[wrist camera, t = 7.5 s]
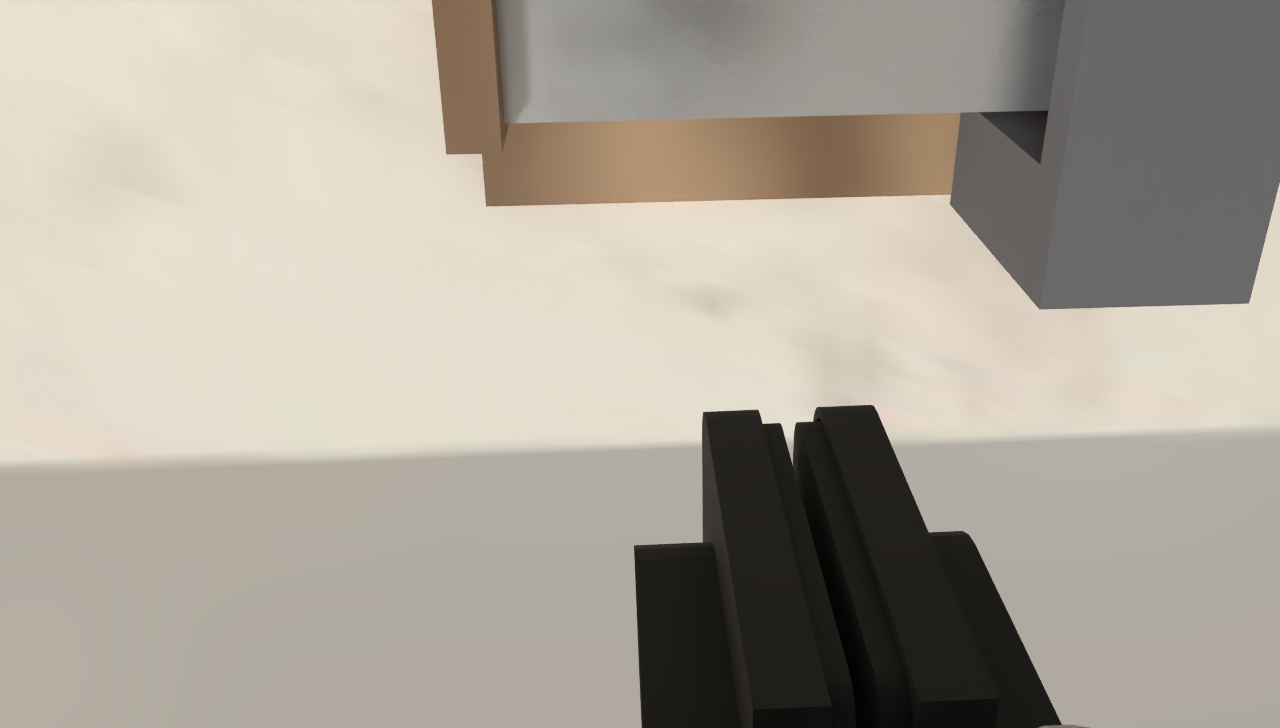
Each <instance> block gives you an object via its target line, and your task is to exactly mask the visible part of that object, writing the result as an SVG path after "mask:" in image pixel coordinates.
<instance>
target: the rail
mask: <svg viewBox="0 0 1280 728" xmlns="http://www.w3.org/2000/svg"><path fill="white" fill-rule="evenodd" d="M1064 6H1065V0H496V11H497V25H498V39H499V54H500V68H501V82H502V97H503V111H504V123H544V122H586V121H628V120H670V119H712V118H754V117H796V116H839V115H881V114H923V113H965V112H1007V111H1049V104H1050V98H1051V91H1052V85H1053V78H1054V72H1055V65H1056V58H1057V52H1058V45H1059V39H1060V32H1061V25H1062V19H1063V12H1064Z"/></svg>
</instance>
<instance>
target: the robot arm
mask: <svg viewBox="0 0 1280 728" xmlns="http://www.w3.org/2000/svg"><path fill="white" fill-rule="evenodd" d="M702 451H703V452H702V454H703V455H702V459H703V460H702V465H703V543H681V544H659V545H636V546H634V553H635V554H634V555H635V579H636V603H637V626H638V650H639V651H638V652H639V675H640V698H641V719H642V728H1088V727H1082V726H1077V725H1062V724H1061V722H1060V720H1059V718H1058V716H1057V714H1056V712H1055V710H1054V708H1053V705H1052V703H1051V701H1050V700H1049V697H1048V695H1047V693H1046V691H1045V689H1044V687H1043V685H1042V682H1041V680H1040V678H1039V676H1038V674H1037V672H1036V670H1035V668H1034V666H1033V664H1032V662H1031V660H1030V658H1029V655H1028V653H1027V651H1026V649H1025V647H1024V645H1023V643H1022V641H1021V639H1020V637H1019V635H1018V633H1017V631H1016V628H1015V626H1014V624H1013V622H1012V620H1011V618H1010V616H1009V614H1008V612H1007V610H1006V608H1005V606H1004V603H1003V601H1002V599H1001V597H1000V595H999V593H998V591H997V589H996V587H995V585H994V583H993V581H992V579H991V576H990V574H989V572H988V570H987V568H986V566H985V564H984V562H983V560H982V558H981V556H980V553H979V551H978V549H977V547H976V545H975V543H974V542H973V540H972V539H971V537H970V536H969V535H968V534H967V533H965V532H963V531H954V532H933V533H929V532H928V530H927V528H926V526H925V523H924V521H923V518H922V516H921V514H920V511H919V509H918V507H917V504H916V502H915V500H914V497H913V495H912V493H911V490H910V488H909V485H908V483H907V481H906V478H905V476H904V474H903V471H902V469H901V467H900V465H899V462H898V460H897V457H896V455H895V453H894V450H893V448H892V446H891V443H890V441H889V439H888V436H887V434H886V432H885V429H884V427H883V425H882V422H881V420H880V418H879V415H878V413H877V411H876V409H875V407H874V406H873V405H859V406H835V407H817V408H816V410H815V414H814V420H813V422H797V423H796V425H795V431H794V450H793V465H792V462H791V458H790V454H789V451H788V447H787V443H786V440H785V436H784V433H783V429H782V426H781V424H780V423H773V424H762V420H761V416H760V413H759V411H758V410H741V411H717V412H703V421H702Z"/></svg>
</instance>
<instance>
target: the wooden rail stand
mask: <svg viewBox="0 0 1280 728" xmlns="http://www.w3.org/2000/svg"><path fill="white" fill-rule="evenodd" d="M432 6H433V17H434V27H435V38H436V48H437V59H438V69H439V80H440V91H441V101H442V112H443V122H444V133H445V143H446V154H482V159H483V172H484V184H485V197H486V206H520V205H559V204H597V203H636V202H675V201H714V200H753V199H792V198H831V197H870V196H909V195H948V194H951V192H952V183H953V175H954V166H955V158H956V149H957V140H958V132H959V123H960V114H961V113H923V114H881V115H839V116H796V117H754V118H712V119H670V120H628V121H586V122H544V123H504V111H503V97H502V82H501V68H500V54H499V39H498V25H497V11H496V0H432Z"/></svg>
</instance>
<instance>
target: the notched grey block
mask: <svg viewBox="0 0 1280 728" xmlns="http://www.w3.org/2000/svg"><path fill="white" fill-rule="evenodd" d="M1279 182H1280V0H1065V6H1064V12H1063V19H1062V25H1061V32H1060V39H1059V45H1058V52H1057V58H1056V65H1055V72H1054V78H1053V85H1052V91H1051V98H1050V104H1049V111H1007V112H965V113H961V114H960V123H959V132H958V140H957V149H956V158H955V166H954V175H953V183H952V192H951V201H950V205H951V206H952V207H953V208H954V209H955V211H956V212H957V213H958V214H959V215H960V216H961V218H962V219H963V220H964V221H965V222H966V224H967V225H968V226H969V227H970V228H971V229H972V231H973V232H974V233H975V234H976V235H977V236H978V238H979V239H980V240H981V241H982V242H983V244H984V245H985V246H986V247H987V248H988V249H989V251H990V252H991V253H992V254H993V255H994V256H995V258H996V259H997V260H998V261H999V262H1000V263H1001V265H1002V266H1003V267H1004V268H1005V269H1006V271H1007V272H1008V273H1009V274H1010V275H1011V276H1012V278H1013V279H1014V280H1015V281H1016V282H1017V283H1018V285H1019V286H1020V287H1021V288H1022V289H1023V291H1024V292H1025V293H1026V294H1027V295H1028V296H1029V298H1030V299H1031V300H1032V301H1033V302H1034V303H1035V305H1036V306H1037V307H1038V308H1039V309H1068V308H1103V307H1138V306H1174V305H1209V304H1244V303H1249V301H1250V297H1251V293H1252V289H1253V285H1254V281H1255V277H1256V273H1257V269H1258V265H1259V261H1260V257H1261V253H1262V249H1263V246H1264V242H1265V238H1266V234H1267V230H1268V226H1269V222H1270V218H1271V214H1272V210H1273V206H1274V202H1275V198H1276V194H1277V190H1278V186H1279Z"/></svg>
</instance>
